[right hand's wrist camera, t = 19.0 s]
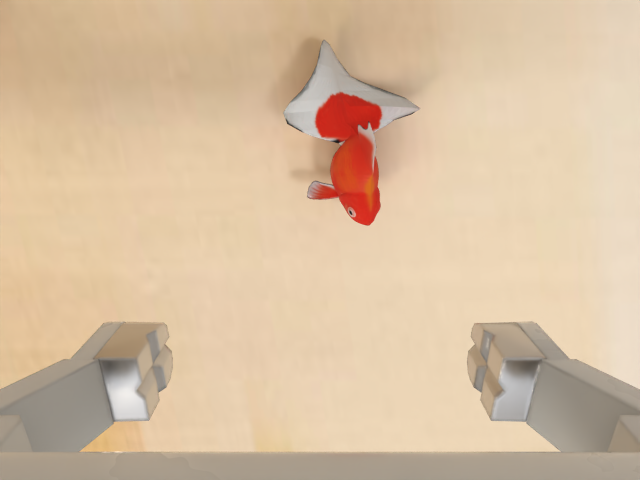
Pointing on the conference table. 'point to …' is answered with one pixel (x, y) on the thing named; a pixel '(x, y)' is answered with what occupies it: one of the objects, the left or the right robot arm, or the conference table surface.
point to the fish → (346, 131)
